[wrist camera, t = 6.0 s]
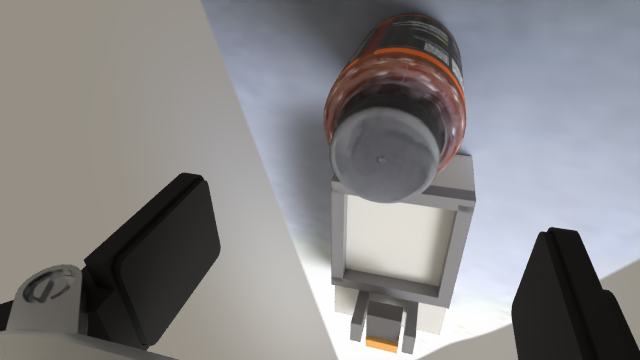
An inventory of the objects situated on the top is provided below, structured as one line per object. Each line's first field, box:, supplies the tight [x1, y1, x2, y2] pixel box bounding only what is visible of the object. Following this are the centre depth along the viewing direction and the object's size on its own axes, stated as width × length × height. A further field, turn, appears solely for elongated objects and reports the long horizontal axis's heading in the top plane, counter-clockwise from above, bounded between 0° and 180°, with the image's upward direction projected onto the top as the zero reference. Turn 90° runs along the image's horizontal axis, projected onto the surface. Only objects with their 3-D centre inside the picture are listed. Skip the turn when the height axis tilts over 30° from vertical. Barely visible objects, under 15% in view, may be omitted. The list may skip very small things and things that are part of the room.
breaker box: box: [331, 154, 476, 354], centre depth 26 cm, size 13×8×7 cm, turn 1°
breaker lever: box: [366, 300, 403, 353], centre depth 26 cm, size 5×2×1 cm, turn 1°
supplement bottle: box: [324, 14, 466, 204], centre depth 18 cm, size 6×6×11 cm
